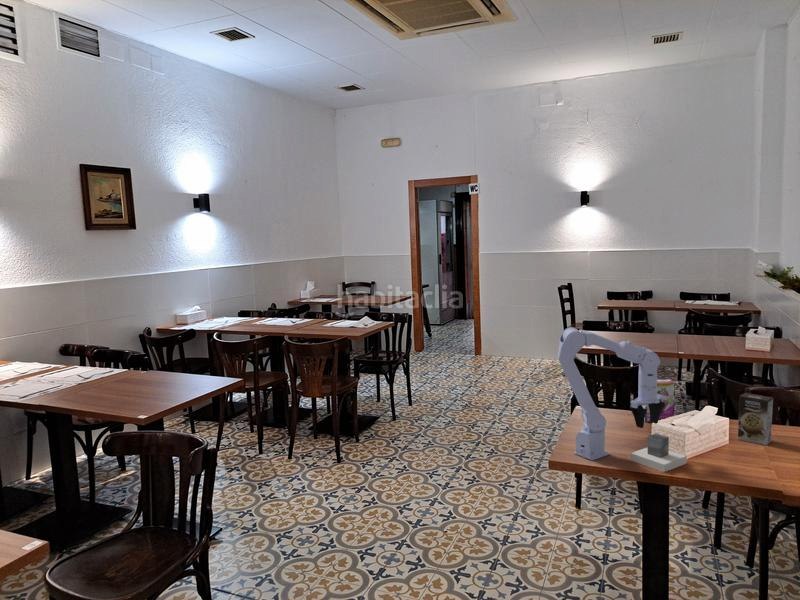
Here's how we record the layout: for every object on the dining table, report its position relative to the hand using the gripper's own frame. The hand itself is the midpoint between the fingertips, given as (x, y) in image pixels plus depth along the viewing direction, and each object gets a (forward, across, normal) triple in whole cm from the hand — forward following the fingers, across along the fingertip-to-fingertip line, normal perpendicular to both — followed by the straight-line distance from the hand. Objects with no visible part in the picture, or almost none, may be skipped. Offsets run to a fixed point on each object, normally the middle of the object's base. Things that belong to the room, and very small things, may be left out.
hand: (647, 424), depth 190 cm
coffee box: (+10, +42, -13) cm, 45 cm away
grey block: (+8, -2, -6) cm, 10 cm away
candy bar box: (+11, +34, +20) cm, 41 cm away
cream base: (+10, -2, -6) cm, 12 cm away
